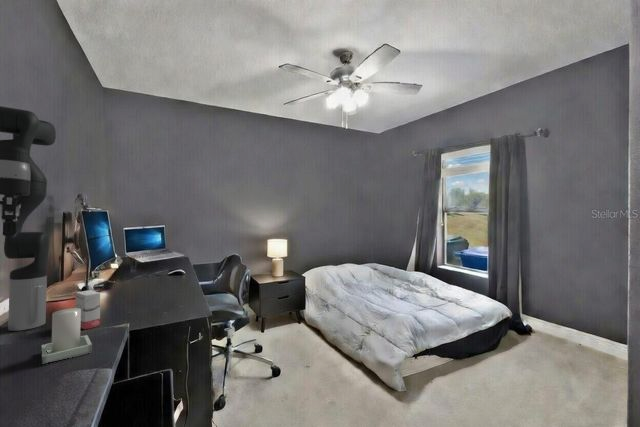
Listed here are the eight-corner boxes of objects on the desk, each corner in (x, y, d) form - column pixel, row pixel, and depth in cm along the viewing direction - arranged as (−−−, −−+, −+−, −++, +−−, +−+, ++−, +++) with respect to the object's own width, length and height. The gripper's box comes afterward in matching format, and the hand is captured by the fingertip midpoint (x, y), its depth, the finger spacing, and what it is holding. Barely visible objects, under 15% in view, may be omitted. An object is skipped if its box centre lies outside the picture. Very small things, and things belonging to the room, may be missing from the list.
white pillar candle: (50, 350, 80) (51, 311, 80) (78, 344, 84) (79, 306, 85) (52, 357, 76) (53, 316, 76) (81, 350, 80) (82, 311, 80)
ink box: (100, 325, 101) (101, 292, 101) (83, 330, 97) (84, 295, 97) (90, 321, 106) (91, 289, 106) (74, 325, 101) (74, 292, 102)
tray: (41, 352, 80) (41, 344, 80) (87, 342, 87) (87, 334, 87) (42, 365, 73) (42, 356, 73) (91, 352, 80) (92, 344, 80)
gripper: (30, 176, 78) (28, 235, 78) (30, 182, 88) (28, 234, 88) (-12, 173, 73) (-14, 236, 73) (-7, 179, 83) (-9, 235, 83)
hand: (9, 235), depth 80 cm, fingers open, 8 cm apart
